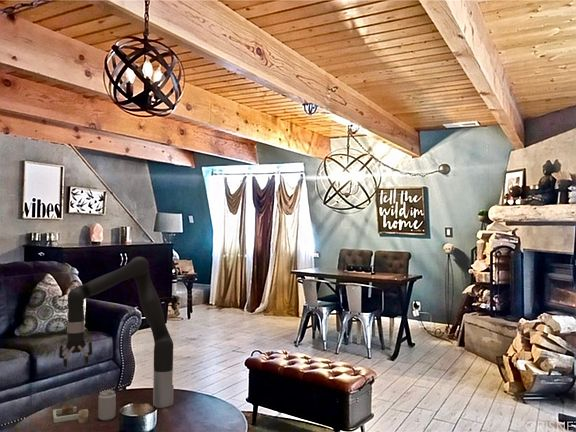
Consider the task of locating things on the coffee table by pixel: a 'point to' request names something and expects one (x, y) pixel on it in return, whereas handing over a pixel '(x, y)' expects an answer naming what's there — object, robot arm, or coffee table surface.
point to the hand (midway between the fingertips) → (75, 365)
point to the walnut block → (67, 410)
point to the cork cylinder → (83, 416)
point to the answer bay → (64, 418)
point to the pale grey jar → (106, 405)
